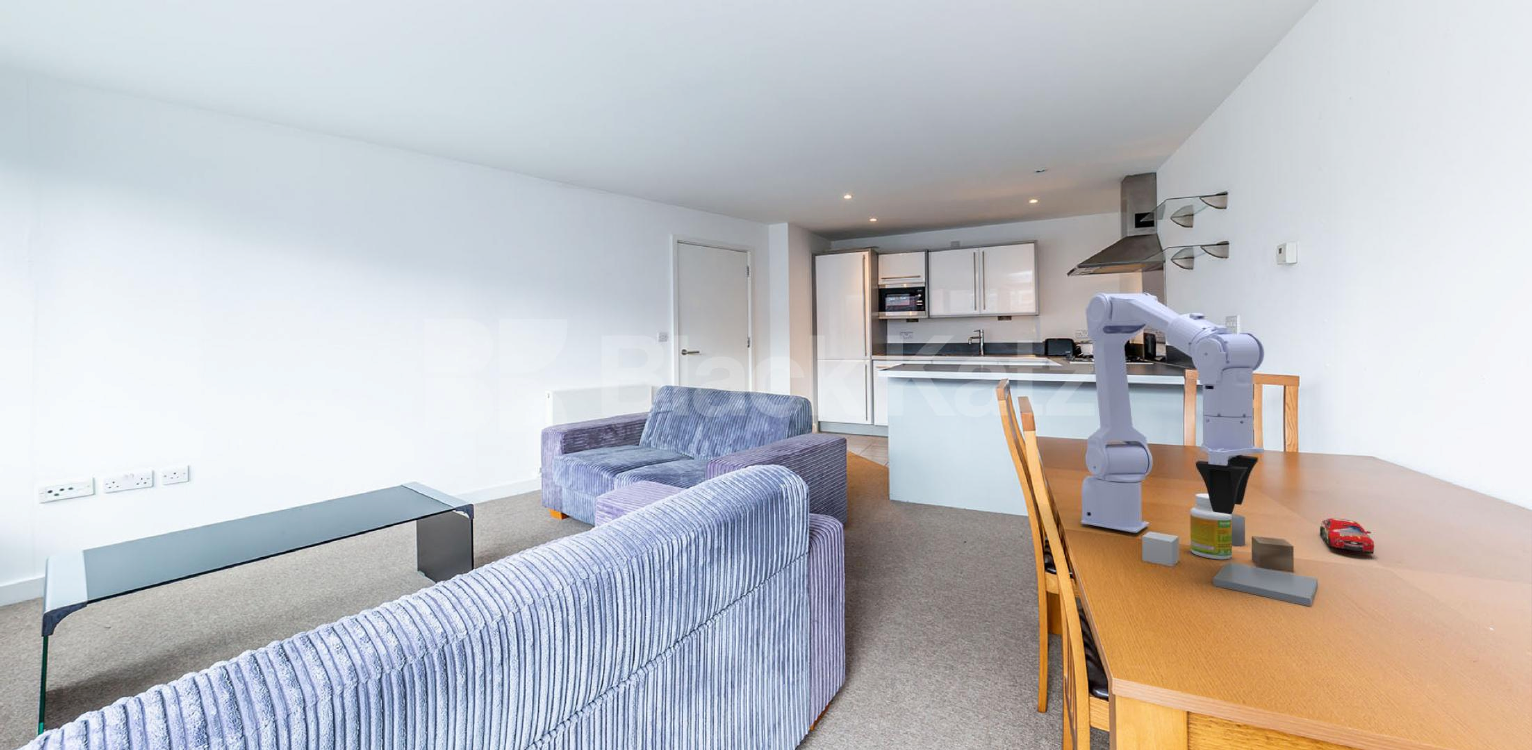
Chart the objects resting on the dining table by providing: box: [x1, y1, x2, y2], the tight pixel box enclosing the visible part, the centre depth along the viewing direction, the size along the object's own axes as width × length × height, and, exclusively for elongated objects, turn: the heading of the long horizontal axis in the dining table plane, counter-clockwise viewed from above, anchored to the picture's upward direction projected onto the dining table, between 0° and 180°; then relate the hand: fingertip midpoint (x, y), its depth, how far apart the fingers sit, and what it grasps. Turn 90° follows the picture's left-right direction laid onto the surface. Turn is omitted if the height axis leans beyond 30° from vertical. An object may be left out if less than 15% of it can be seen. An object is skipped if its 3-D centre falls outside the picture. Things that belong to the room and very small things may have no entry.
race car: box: [1319, 518, 1375, 555], centre depth 96 cm, size 13×5×4 cm, turn 141°
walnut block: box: [1251, 535, 1295, 573], centre depth 88 cm, size 4×4×4 cm
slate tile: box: [1212, 561, 1319, 607], centre depth 81 cm, size 10×10×1 cm
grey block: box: [1141, 531, 1180, 567], centre depth 92 cm, size 4×4×4 cm
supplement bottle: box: [1189, 493, 1233, 560], centre depth 94 cm, size 5×5×10 cm
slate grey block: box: [1231, 513, 1246, 547], centre depth 99 cm, size 4×4×5 cm
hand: (1227, 507), depth 84 cm, fingers open, 7 cm apart
